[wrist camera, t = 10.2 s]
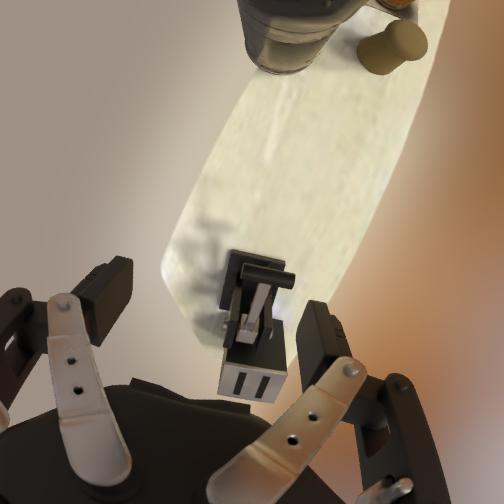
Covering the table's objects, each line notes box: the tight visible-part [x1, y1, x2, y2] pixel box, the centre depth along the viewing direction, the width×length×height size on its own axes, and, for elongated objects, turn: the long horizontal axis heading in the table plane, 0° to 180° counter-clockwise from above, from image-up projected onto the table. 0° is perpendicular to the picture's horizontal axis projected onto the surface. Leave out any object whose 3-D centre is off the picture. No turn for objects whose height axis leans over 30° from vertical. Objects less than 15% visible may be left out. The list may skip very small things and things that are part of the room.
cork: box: [357, 19, 428, 75], centre depth 25 cm, size 6×6×11 cm
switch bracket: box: [219, 250, 285, 355], centre depth 39 cm, size 10×8×13 cm
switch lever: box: [236, 263, 295, 344], centre depth 31 cm, size 12×5×2 cm, turn 165°
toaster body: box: [217, 313, 288, 403], centre depth 43 cm, size 7×8×12 cm
